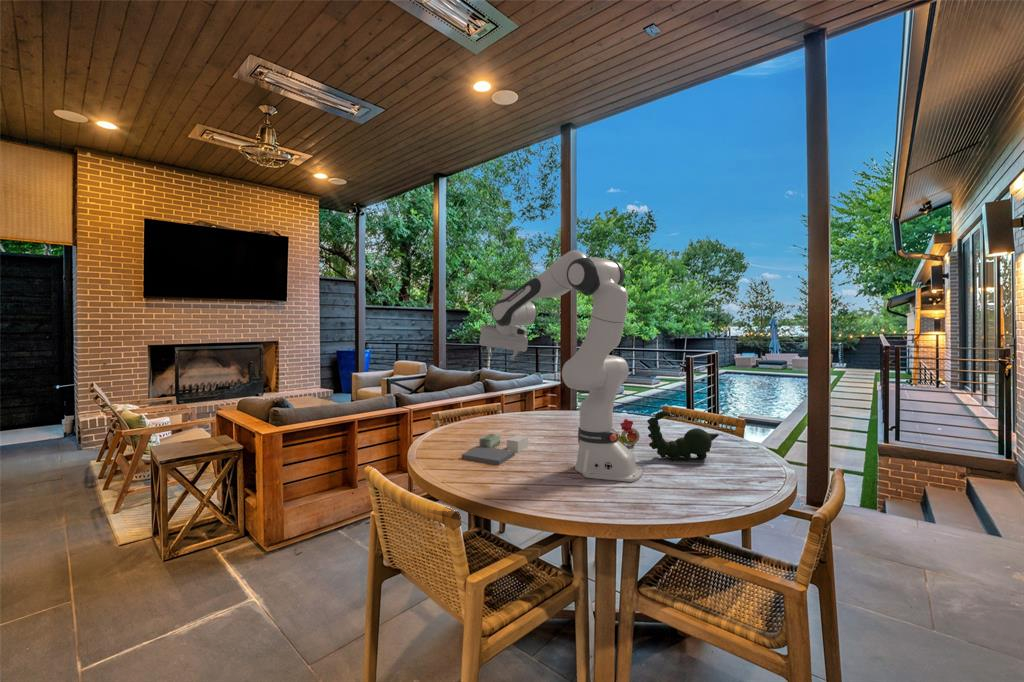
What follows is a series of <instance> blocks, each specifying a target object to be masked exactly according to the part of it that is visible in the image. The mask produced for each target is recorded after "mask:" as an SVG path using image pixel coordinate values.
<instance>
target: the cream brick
mask: <svg viewBox="0 0 1024 682" xmlns="http://www.w3.org/2000/svg"><path fill="white" fill-rule="evenodd" d="M527 448H529V436H526V435H520V434H515V435H514V436H511V437H509V438H507V439H506V450H510V451H515V453H519V452H521V451H524V450H526V449H527ZM523 449H524V450H523Z"/></svg>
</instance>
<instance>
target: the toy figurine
mask: <svg viewBox="0 0 1024 682" xmlns="http://www.w3.org/2000/svg"><path fill="white" fill-rule="evenodd" d="M664 417H668V418H672V414H671V413H670V412H668V411H666V410H660V411H657V412H656V413H655V416H654V417H653V416H651V417H650V418H649V419H647V421H646V422H647V423H648V424H649V425H648V426H647V430H649V432H650V433H649V434H648V435H647V437H648V438H649V439H650V440H651V442H649V444H648V445H649V447H650V448H651V449H653V450H656V454H657V455H658V456H660V457H661V459H665V458H666V457H668V458H671V460H672V461H674V462H676V461H678V460H679V457H682V458H684V460H686V461H689V460H691V458H692V455H695V456H696V457H697V458H698V459H700V460H705V459H707V456H708V455H707V453H709V452H710V451H711V447H712V444H713V443H712V442H713V441H714V440H715V439H716V438H718V437H719V436H720V435H719V434H718V433H709V432H707V431H706V430H704V429H702V428H697V427H695V428H691V429H689V430H688V431H686V433H684V435H683V437H679V438H676V439H675V440H671V441H666V439H665V438H664V437H663V434H662V432H661V426H660V425H659V420H661V419H663V418H664ZM691 454H692V455H691Z"/></svg>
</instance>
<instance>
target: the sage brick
mask: <svg viewBox="0 0 1024 682" xmlns="http://www.w3.org/2000/svg"><path fill="white" fill-rule="evenodd" d="M478 440H479V446H482V447H488V448H495V447H496V448H498V447H500V446H501V435H500V434H495V433H488V434H485V435H483V436H481V437H480V438H479V439H478ZM499 445H500V446H499ZM497 446H498V447H497ZM496 448H495V449H496Z"/></svg>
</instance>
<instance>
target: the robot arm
mask: <svg viewBox="0 0 1024 682" xmlns="http://www.w3.org/2000/svg"><path fill="white" fill-rule="evenodd" d="M625 276H626V271H625V268H624V267H623V264H621V263H620V262H619V261H617V260H615V259H610V258H602V257H587V255H586V254H585V253H584V252H582V251H581V250H578V249H577V250H576V249H573V250H570V251H568V252H566V253H565V254H563V255H562V256H560V257H559V258H557V260H555V262H553V263H552V264H551V265H550V266H549V267H548V268H547V269H545V270H543V272H541V273H540V274H538V275H537V276H535V277H533V278H531V279H530V280H528V281H526V282H525V283H523V284H522V285H520V287H518V288H515V289H513V288H506V289H503V291H502V292H501V296H500V299H499V300H498V301H497V302H496V303H495V304H494V305H493V307H492V313H491V314H492V318H493V320H494V321H495V324H488V323H484V324H482V325H481V326H480V330H479V331H480V338H479V342H478V343H479V345H480V346H481V347H486V350H487V352H488V358H492V357H493V352H492V351H491V348H494V349H495V348H496V349H502V350H503V349H504V350H509V351H513V354H511V355H510V357H509V360H510V361H515V357H516V356H517V355H518V353H519V352H523V353H526V351H527V350H528V344H529V341H528V340H529V339H528V335H527V334H528V329H527V328H526V327H525V326H530V325H533V324H534V322H535V321H536V318H537V315H538V314H537V313H538V312H537V307H536V305H535V304H534V302H532V301H535V300H539V299H550V298H551V299H552V298H559V297H561V296H563V295H565V294H567V293H568V292H570V291H571V290H572V289H575V290H576V291H578V292H579V293H581V294H583V296H585V297H589V296H591V297H592V299H593V303H592V304H593V305H592V309H591V314H590V319H589V323H588V327H587V331H586V335H585V337H584V340H583V341H582V343H581V345H580V347H579V349H578V350H577V351H576V353H575V354H574V355H573V356H572V357H571V358H569V359H568V360H567V361H565V363H564V364H563V367H562V369H561V377H562V382H563V383H564V384H565V386H567V388H569V389H573V390H580V391H587V390H589V393H588V394H587V397H586V398H585V399H583V400H582V402H581V403H580V405H579V426H578V429H577V430H578V431H577V442H578V451H577V458H576V462H575V466H574V469H575V471H576V472H578V473H580V474H581V475H582V476H583V477H584V478H587V479H588V478H589V479H597V480H598V479H599V480H606V481H619V482H628V483H629V482H630V483H631V482H635V481H638V480H639V479H641V477H642V476H643V474H644V471H643V468H642V467H641V466H640V465H637V462H636V457H635V455H634V452H633V451H632V450H630V449H629V448H628V447H627V446H626V447H625V446H624V445H623V444H622V443H621V442H619V441H618V436H619V434H620V430H617V431H616V429H614V427H613V419H614V417H613V415H614V404H615V401H616V397H617V394H618V393H619V390H620V388H621V386H622V385H623V384H624V383H625V382H626V381H627V379H628V378H629V372H630V370H629V369H630V368H629V365H628V362H627V361H626V359H625V358H623V357H621V356H617V355H613V354H612V355H611V354H610V353H611V352H612V351H614V350H615V349H616V348H617V347H618V346H619V345H620V343H621V340H622V335H623V330H624V327H625V323H626V318H627V313H628V304H629V303H628V302H629V293H628V291H627V289H626V288H625V287H624V286H622V284H623V283H624V280H625V278H626V277H625Z"/></svg>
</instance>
